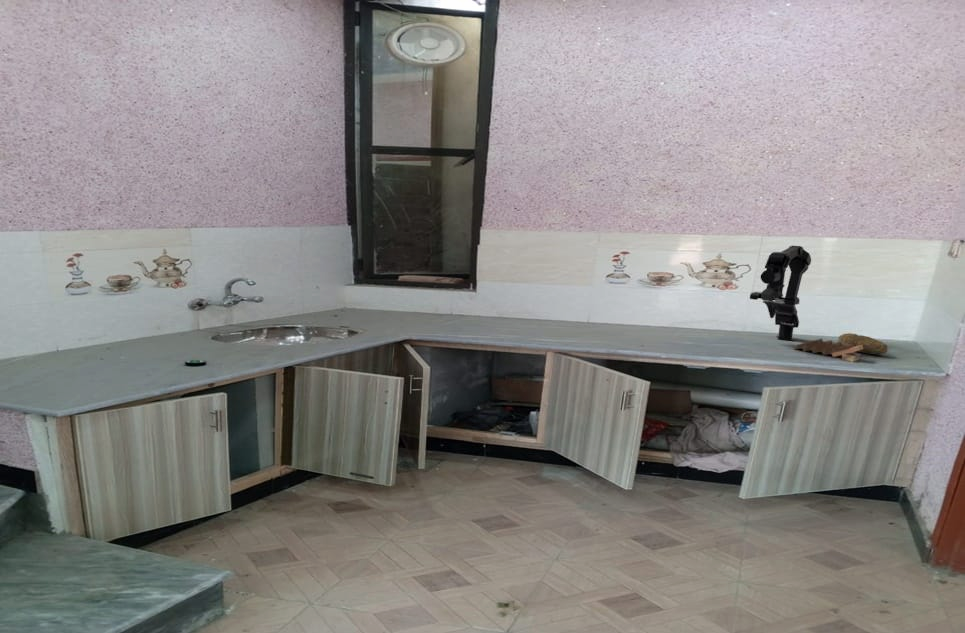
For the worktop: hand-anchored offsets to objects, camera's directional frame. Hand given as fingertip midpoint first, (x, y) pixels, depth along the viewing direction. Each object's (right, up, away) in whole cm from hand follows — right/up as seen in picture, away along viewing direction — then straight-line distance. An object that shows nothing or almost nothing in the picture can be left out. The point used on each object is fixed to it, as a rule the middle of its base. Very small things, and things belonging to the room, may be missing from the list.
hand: (771, 318), depth 253 cm
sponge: (+36, -15, -4) cm, 39 cm away
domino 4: (+16, -14, -12) cm, 24 cm away
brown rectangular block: (+9, -12, -3) cm, 16 cm away
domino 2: (+11, -13, -6) cm, 18 cm away
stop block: (+22, -17, -19) cm, 33 cm away
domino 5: (+19, -15, -14) cm, 28 cm away
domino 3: (+14, -14, -9) cm, 21 cm away
